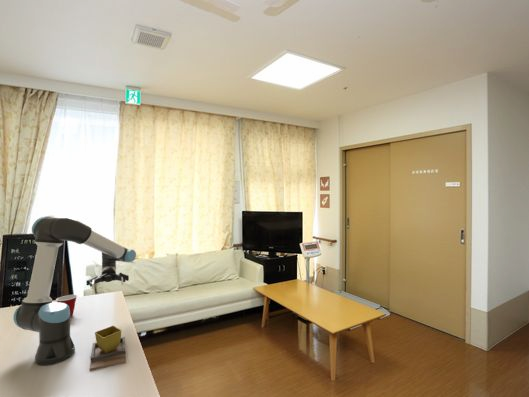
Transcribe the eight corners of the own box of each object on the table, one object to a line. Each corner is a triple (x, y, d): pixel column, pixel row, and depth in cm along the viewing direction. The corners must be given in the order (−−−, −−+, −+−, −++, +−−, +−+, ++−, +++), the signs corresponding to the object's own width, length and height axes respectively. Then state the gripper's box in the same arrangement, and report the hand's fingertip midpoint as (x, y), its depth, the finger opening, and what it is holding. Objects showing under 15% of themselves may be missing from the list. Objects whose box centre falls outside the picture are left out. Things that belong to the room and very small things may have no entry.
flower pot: (103, 357, 135) (102, 337, 135) (94, 350, 141) (94, 332, 140) (122, 349, 142) (122, 330, 142) (113, 343, 148) (113, 325, 147)
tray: (125, 362, 133) (125, 357, 133) (89, 371, 127) (89, 365, 127) (124, 341, 151) (124, 337, 151) (92, 348, 145) (92, 343, 145)
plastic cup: (73, 311, 188) (73, 292, 188) (80, 315, 181) (80, 296, 181) (53, 316, 180) (53, 297, 179) (59, 321, 173) (59, 301, 173)
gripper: (132, 277, 179) (134, 288, 160) (83, 283, 168) (79, 295, 149) (132, 265, 179) (134, 274, 160) (83, 270, 167) (79, 280, 148)
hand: (107, 284), depth 154 cm, fingers open, 13 cm apart
